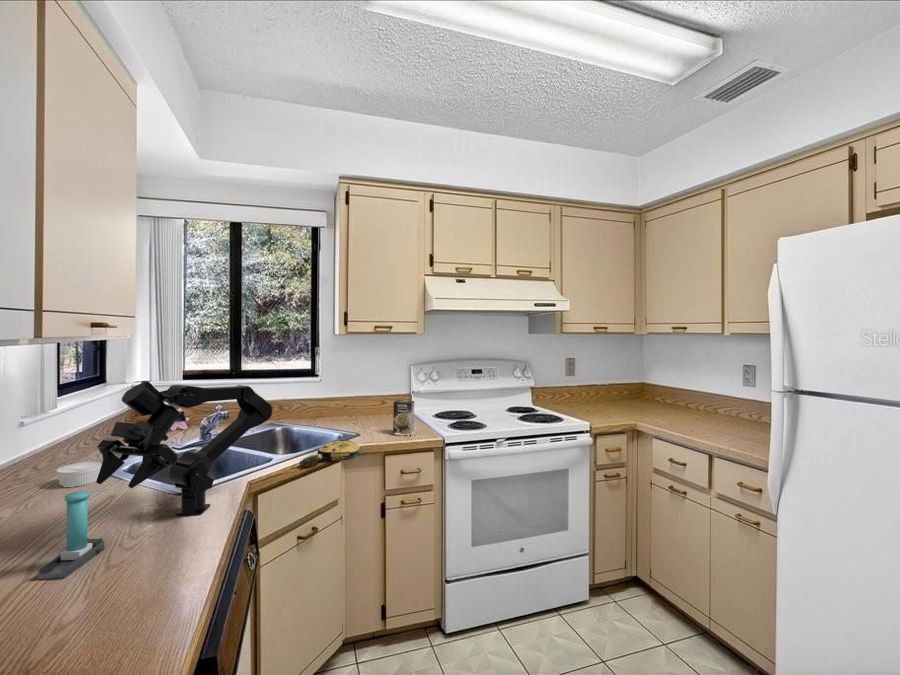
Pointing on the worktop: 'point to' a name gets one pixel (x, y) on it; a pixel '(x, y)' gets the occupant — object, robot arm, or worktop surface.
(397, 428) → the coffee box
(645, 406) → the worktop surface
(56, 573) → the track
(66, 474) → the ramekin
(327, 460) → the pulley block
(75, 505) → the teal tall cylinder
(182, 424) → the lily
